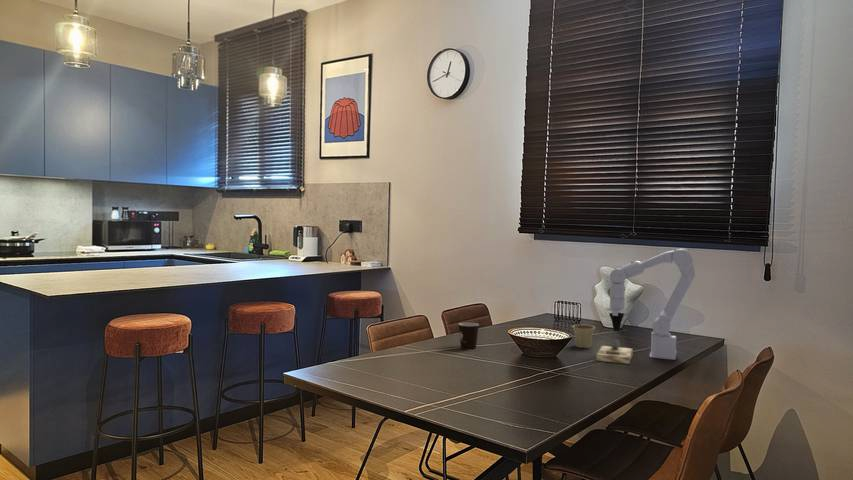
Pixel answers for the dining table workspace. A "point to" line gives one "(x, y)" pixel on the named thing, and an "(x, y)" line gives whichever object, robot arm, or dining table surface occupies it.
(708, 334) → the dining table surface
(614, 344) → the ball
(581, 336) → the flower pot
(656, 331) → the robot arm
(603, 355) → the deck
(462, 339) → the coffee mug
